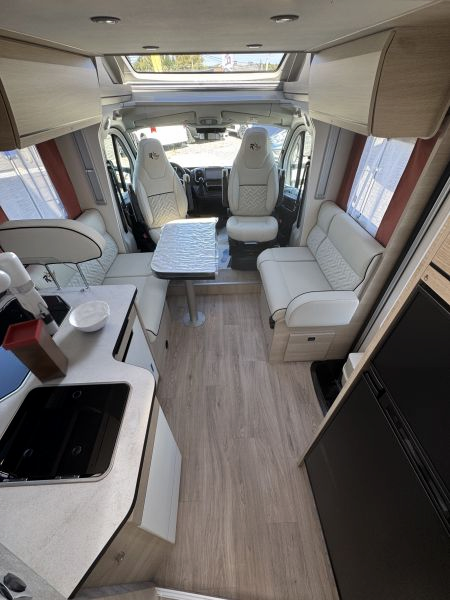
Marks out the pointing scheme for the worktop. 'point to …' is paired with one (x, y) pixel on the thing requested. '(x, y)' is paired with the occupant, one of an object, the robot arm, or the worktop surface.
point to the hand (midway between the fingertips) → (45, 319)
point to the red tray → (23, 334)
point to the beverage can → (51, 327)
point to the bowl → (90, 316)
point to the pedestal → (43, 358)
